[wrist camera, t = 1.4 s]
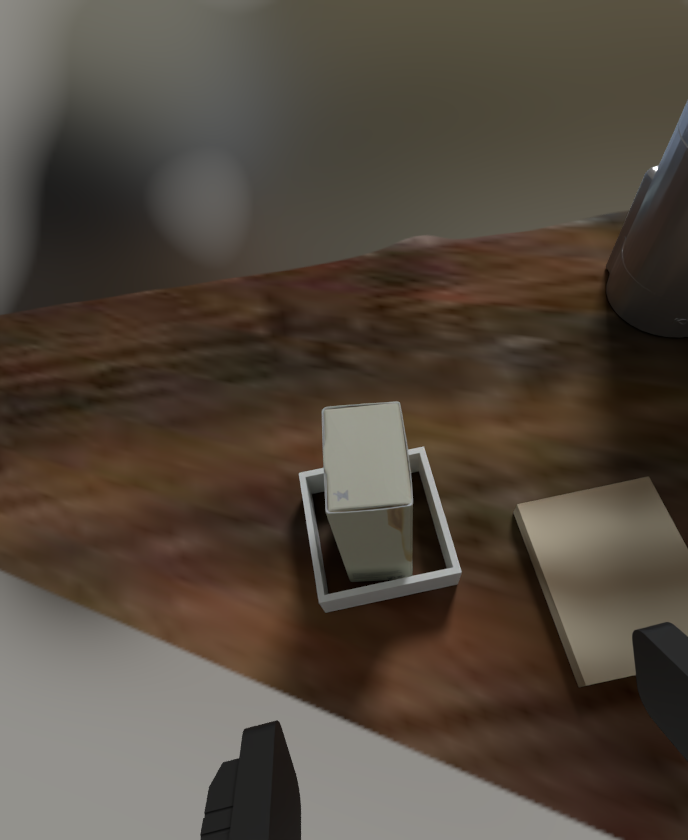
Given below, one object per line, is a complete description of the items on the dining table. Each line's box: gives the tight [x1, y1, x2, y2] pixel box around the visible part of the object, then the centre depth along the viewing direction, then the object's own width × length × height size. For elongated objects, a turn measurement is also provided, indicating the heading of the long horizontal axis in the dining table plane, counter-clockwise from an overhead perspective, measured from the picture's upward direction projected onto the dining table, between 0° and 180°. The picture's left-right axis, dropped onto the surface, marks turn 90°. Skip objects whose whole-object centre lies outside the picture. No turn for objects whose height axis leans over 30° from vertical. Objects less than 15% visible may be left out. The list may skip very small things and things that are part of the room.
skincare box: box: [322, 402, 413, 582], centre depth 32 cm, size 6×4×12 cm
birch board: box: [513, 476, 688, 687], centre depth 33 cm, size 11×9×2 cm
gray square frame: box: [299, 447, 462, 613], centre depth 35 cm, size 9×9×3 cm
